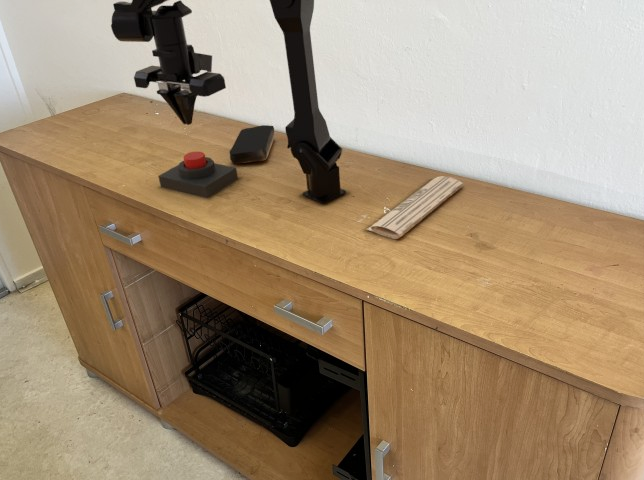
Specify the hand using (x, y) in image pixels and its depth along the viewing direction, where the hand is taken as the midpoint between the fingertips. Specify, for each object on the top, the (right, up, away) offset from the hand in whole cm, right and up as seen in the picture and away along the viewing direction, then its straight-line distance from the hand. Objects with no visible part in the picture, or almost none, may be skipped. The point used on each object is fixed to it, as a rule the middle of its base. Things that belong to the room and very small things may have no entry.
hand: (187, 123), depth 124 cm
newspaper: (+45, -18, -7) cm, 49 cm away
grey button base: (+1, -11, +8) cm, 13 cm away
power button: (+1, -7, +5) cm, 9 cm away
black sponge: (+11, -1, +20) cm, 23 cm away
